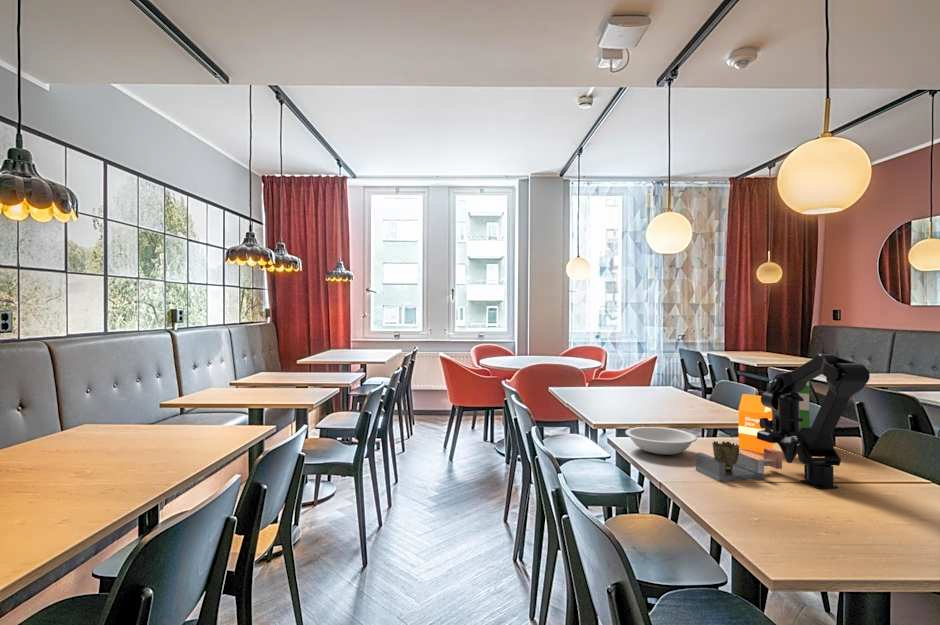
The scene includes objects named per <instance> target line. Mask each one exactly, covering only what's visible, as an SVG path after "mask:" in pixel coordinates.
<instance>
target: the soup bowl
mask: <svg viewBox="0 0 940 625" xmlns="http://www.w3.org/2000/svg"><path fill="white" fill-rule="evenodd" d="M624 433H625V435H626V436H628V437H630V439H631V440H632V442H633V444H635V446H636V447H638V448H639V449H641V450H642V451H645V452H647V453H652V454H656V455H676V454H680V453H682V452H684V451H686V450H687V449H688V448H689V447H691V445H692V443H695V442H696V441H697V439H698V437H697V436H696V435H695V434H693V433H691V432H689V431H686V430H680V429H675V428H670V427H661V426H660V427H657V426H639V427H638V426H637V427H636V426H635V427H631V428H628V429H626V430H625V432H624Z"/></svg>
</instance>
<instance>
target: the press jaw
mask: <svg viewBox="0 0 940 625" xmlns="http://www.w3.org/2000/svg"><path fill="white" fill-rule="evenodd" d="M736 465H739V466H741V467H744V468H746V469H748V470H751V471H753V472H756V473H763V474H765V467H770V468H774V469H775V470H776V469H777V470H778V469H779V470H780V469H781V470H782V469H783V452H782V451H778V450H776V449H773V448H772V449H770V448H764V454H763V458H760V457H757V456H755V455H753V454H749V453H747V452H744V451H742V450H739V456H738V461H737V463H736Z"/></svg>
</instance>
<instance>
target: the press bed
mask: <svg viewBox="0 0 940 625" xmlns="http://www.w3.org/2000/svg"><path fill="white" fill-rule="evenodd" d="M732 467H733V469H732V470H731V471H725V462H723V461H720V460H718V459H716V458H715V457H713V456H710V455H709V454H706V453H703V452H695V470H696V472H699V473H701V474H702V475H705V476H707V477H709V478H711V479H714V480H715V481H717V482H719V481H720V482H734V481H736V480H737V481H745V480H746V481H748V480H747V479H753V480H764V479H765V473H756V472H753V471H751V470H748V469H746V468H744V467H741V466H739V465H736V464H735V465H733V466H732Z"/></svg>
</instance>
